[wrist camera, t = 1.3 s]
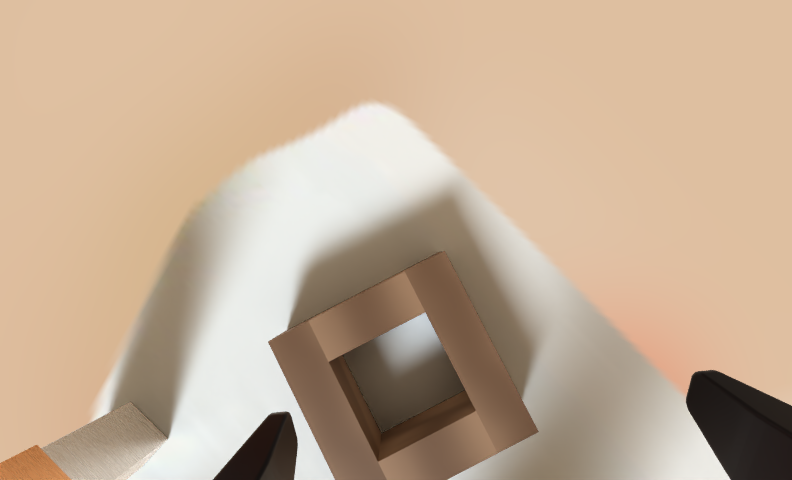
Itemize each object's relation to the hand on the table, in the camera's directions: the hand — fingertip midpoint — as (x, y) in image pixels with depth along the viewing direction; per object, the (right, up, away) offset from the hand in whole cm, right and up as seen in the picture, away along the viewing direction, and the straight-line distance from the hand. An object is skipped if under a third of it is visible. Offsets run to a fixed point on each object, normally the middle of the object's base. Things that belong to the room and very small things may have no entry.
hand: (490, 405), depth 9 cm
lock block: (-2, -4, +16) cm, 17 cm away
